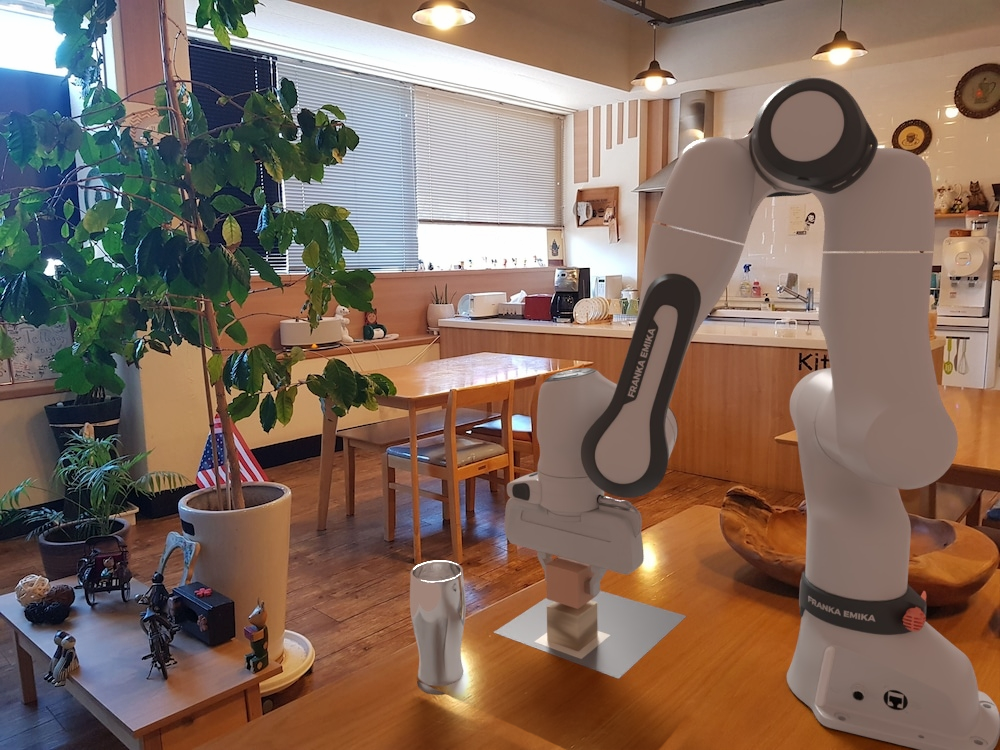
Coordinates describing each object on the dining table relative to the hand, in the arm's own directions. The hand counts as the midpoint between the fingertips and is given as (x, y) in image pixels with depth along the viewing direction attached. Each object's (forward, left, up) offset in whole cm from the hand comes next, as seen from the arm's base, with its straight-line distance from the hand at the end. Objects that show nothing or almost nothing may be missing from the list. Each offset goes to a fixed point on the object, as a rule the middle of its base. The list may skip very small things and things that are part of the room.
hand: (571, 587), depth 102 cm
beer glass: (+9, +17, -9) cm, 21 cm away
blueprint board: (0, -5, -9) cm, 10 cm away
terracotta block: (0, 0, -1) cm, 1 cm away
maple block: (0, 0, -8) cm, 8 cm away
